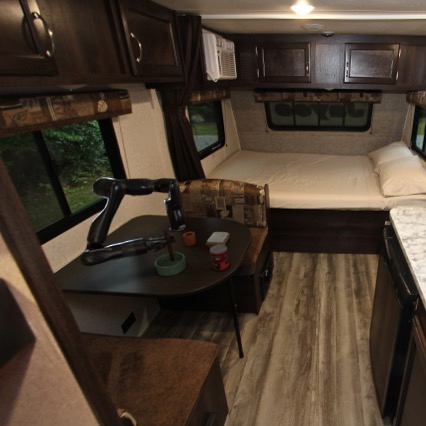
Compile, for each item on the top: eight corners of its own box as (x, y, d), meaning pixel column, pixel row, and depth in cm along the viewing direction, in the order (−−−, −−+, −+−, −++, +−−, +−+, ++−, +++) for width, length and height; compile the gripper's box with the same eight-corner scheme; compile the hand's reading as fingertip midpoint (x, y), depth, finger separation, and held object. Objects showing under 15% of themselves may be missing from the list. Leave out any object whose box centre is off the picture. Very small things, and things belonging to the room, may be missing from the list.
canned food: (210, 266, 150) (207, 248, 145) (224, 260, 155) (221, 242, 150) (217, 273, 145) (214, 254, 140) (231, 266, 150) (229, 248, 145)
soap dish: (223, 250, 164) (222, 242, 161) (206, 249, 164) (204, 241, 162) (230, 239, 175) (229, 231, 173) (214, 238, 175) (213, 231, 173)
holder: (184, 242, 170) (182, 233, 167) (195, 240, 173) (193, 230, 170) (186, 247, 165) (184, 237, 163) (197, 244, 168) (195, 235, 165)
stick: (170, 260, 148) (163, 229, 140) (174, 259, 149) (167, 228, 141) (170, 262, 147) (163, 230, 139) (175, 261, 147) (167, 229, 140)
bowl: (156, 264, 150) (153, 256, 148) (184, 257, 156) (182, 249, 154) (157, 279, 140) (155, 270, 138) (188, 270, 146) (186, 262, 144)
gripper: (132, 247, 129) (174, 238, 137) (132, 234, 140) (171, 226, 148) (136, 261, 132) (178, 251, 140) (136, 247, 143) (174, 239, 151)
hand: (174, 238), depth 144 cm, fingers closed on stick, 2 cm apart
